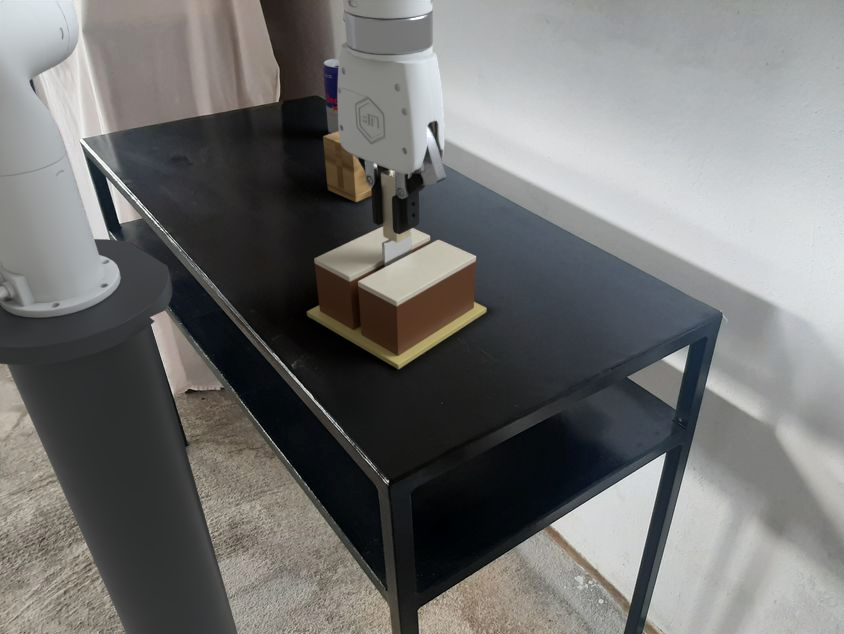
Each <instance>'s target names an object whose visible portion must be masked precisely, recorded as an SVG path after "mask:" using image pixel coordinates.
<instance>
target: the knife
mask: <svg viewBox="0 0 844 634" xmlns="http://www.w3.org/2000/svg"><path fill="white" fill-rule="evenodd" d="M409 178H410V174H408V179H409ZM381 189H382V214H383V224H382V227H383V236H384V237H385V238H388V239H389V240H387V241H385V242H383V243H382V260H383V268H385V267H387V266H388V265H390V264H392V263H394V262H396V261H398V260H400V259H402V258H404V257H406V256H408V255H410V254H412V231H411V230H408V231H406V232H403V233H401V234H397V233H394V231H393V218H392V197H393V196H395V195H397V194H396V181H395V171H392V170H390V169H389V170H386V171H384V172H381Z"/></svg>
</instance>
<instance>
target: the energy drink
mask: <svg viewBox="0 0 844 634" xmlns="http://www.w3.org/2000/svg"><path fill="white" fill-rule="evenodd" d="M339 59H340V57H339V58H337V57H336V58H330V59H326V60H325V61H323V67H322V73H323V86H324V97H325V99H324V100H325V109H326V110H325V111H326V121H327V132H328V134H327V135H329V134H332V133H335V132H338V131H339V128H338V96H337V92H338V68H339Z"/></svg>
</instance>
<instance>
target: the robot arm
mask: <svg viewBox="0 0 844 634" xmlns="http://www.w3.org/2000/svg"><path fill="white" fill-rule="evenodd" d="M433 1H434V0H342V2H343V3H342V4H343V12H342V20H343V22H344V31H345V42H343V43H342V44H341V47H340V54H339V58H340V59H339V68H338V92H337V96H338V128H339V138H340V143H341V146H342V147H343V148H344V149H345V150H346V151H347V152H349V153H350V154H352V155H354V156H355V157H356V158H357V159H358V160H359V162H360V164H361V166H362V167H363V169H364V171H365V177H366V182H367V184H368V185H369V186H372V188H371V195H372V196H371V208H372V209H371V211H372V223H373V224H374V225H377V226H380V225H383V214H382V189H381V172H384V171H386V170H389V169H390V170H392V171H395V181H396V194H397V195H395V196H393V197H392V218H393V231H394V233H397V234H401V233H403V232H406V231H408V230H410V229H412V228H414V229H415V227H418V225H419V224H420V192H421V191H423V190H424V189H425V187H426V186H429V185H435V184H438V183H441V182H442V181H444V180H446V178H447V173H446V170H445V166H444V164H443V163H444V162H443V160H442V159H443V157H444V151H445V134H446V133H445V110H444V106H445V105H444V95H443V86H442V80H441V79H442V78H441V73H440V66H439V62H438V61H439V60H438V55H437V53H436V52H434V51H433V50H434V45H433V43H434V41H433V40H434V39H433V38H434V37H433V35H434V31H433V30H434V27H433V25H434V21H433V20H434V19H433V18H434V17H433V15H434V14H433V13H434V11H433V5H434V4H433V3H434V2H433ZM79 26H80V25H79V20H78V14H77V11H76V7H75V3H74V1H73V0H0V305H1V306H2V308H3V309H5V310H6V311H8V312H10V313H12V314H15V315H18V316H23V317H31V318H48V317H56V316H62V315H67V314H71V313H75V312H78V311H81V310H84V309H87V308H89V307H91V306H94V305H96V304H97V303H99V302H101V301H103V300H104V299H106V298H107V297H108V296H110V295H111V294H112V293H113V292H114V291H115V290H116V288H117V287H118V285H119V284H120V279H121V276H120V272H119V269H118V266H117V265H116V264H115V262H114V261H112V260H110V259H109V258H107V257H104V256H101V255H99V253H98V250H97V247H96V244H95V240H94V239H95V238H94V235H93V232H92V231H93V230H92V228H91V224H90V221H89V217H88V215H87V212H86V208H85V205H84V201H83V198H82V196H81V193H80V188H79V186H78V183H77V180H76V176H75V173H74V170H73V166H72V164H71V160H70V157H69V154H68V151H67V148H66V145H65V142H64V138H63V136H62V132H61V129H60V127H59V125H58V123H57V121H56V120H55V118H54V116H53V114H52V113H51V112H50V110H49V109H48V108H47V107H46V105H45V104H44V103H43V101H41V99H40V98H39V96H38V95H37V94H36V93H35V91H34V89H33V87H32V86H31V82H30V81H31V80H33V79H35V78H36V77H37V76H39V75H41V74H43V73H45V72H47V71H49V70H51V69H53V68H55V67H57V66H58V65H60V64H61V63H63V62H65V61H66V60H67V59H68V58H69V57H70V56H71V55H72V54H73V53H74V51H75V49H76V48H77V44H78V41H79V35H80V27H79ZM408 174H409V175H410V174H411V176H409V179H408Z"/></svg>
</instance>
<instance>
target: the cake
mask: <svg viewBox="0 0 844 634" xmlns="http://www.w3.org/2000/svg"><path fill="white" fill-rule="evenodd" d="M410 230H411V231H412V254H410V255H408V256H406V257H404V258H402V259H400V260H398V261H396V262H394V263H392V264H390V265H388V266H387V267H385V268H383V260H382V243H383V242H385V241H387V240H389V239H388V238H385V237H384V236H383V226H381V227H379V228H378V227H377V229H374V230H372V231H370V232H368V233H366V234H364V235H361V236H358V237H357V238H355V239H353V240H350V241H349V242H346V243H344V244H341V245H340V246H338V247H336V248H334V249H332V250H329V251H327V252H325V253H323V254H321V255H319V256H317V257H314V258H313V259H314V269H315V278H316V279H315V280H316V288H317V297H318V305H317V306H315V307H313V308H311V309H309V310H307V311H306V316H307V317H308V318H310V319H312V320H313V321H315V322H316V323H318V324H320V325H322V326H323V327H326V328H327V329H329V330H331V332H334V333H336V334H337V335H339V336H341V337H342V338H343V339H346V340H347V341H349V342H351V343H353V344H354V345H356V346H358V347H359V348H361V349H362V350H364V351H366V352H368V353H370V355H371V354H372V355H373V356H375V357H376V358H377V359H380V360H382V361H383V362H385V363H387V364H388V365H390V366H392V367H394V368H395V369H396V370H400V369H402V368H403V367H405V366H406V365H408V364H409V363H411V362H413V360H415V359H417V358H418V357H420V356H422V355H423V354H425V353H426V352H427V351H430V349H432V348H433V347H435V346H437V345H438V344H440V343H441V342H443V341H445V340H446V339H447V338H449V337H450V336H452V335H454V334H455V333H457V332H459V330H461V329H462V328H464V327H466V326H467V325H469V324H471V323H472V322H473V321H475V320H477V319H479V318H480V317H481V316H483V315H485V314H486V313H487V307H486V306H484V305H482V304H479V303H478V302H476V301H475V291H476V271H477V270H476V269H477V255H474V254H472V253H470V252H468V251H465V250H463V249H461V248H459V247H456V246H455V245H453V244H449V243H447V242H445V241H443V240H442V239H437V240H434V241H433V242H431V235H429V234H427V233H425V232H423V231H420V230H418V229H416V228H415V227H414V228H412V229H410Z"/></svg>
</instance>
